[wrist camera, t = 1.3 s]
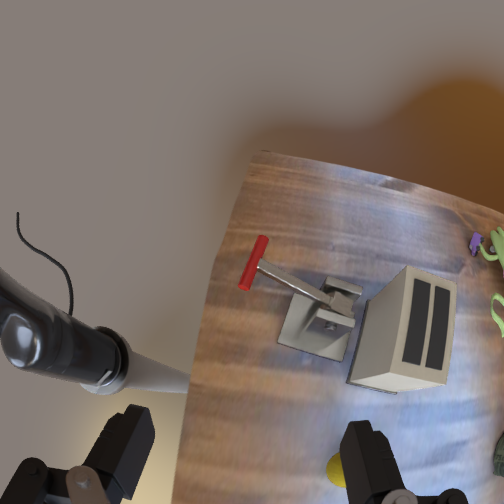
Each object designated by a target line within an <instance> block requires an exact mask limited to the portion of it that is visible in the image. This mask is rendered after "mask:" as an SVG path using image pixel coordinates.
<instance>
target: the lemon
mask: <svg viewBox="0 0 504 504" xmlns="http://www.w3.org/2000/svg"><path fill="white" fill-rule="evenodd" d="M326 473H327V476H328V478H329V480H330V481H331V482H332V483H333V484H335V485H337V486H340V487H344V488H346V484H345V479H344V474H343V469H342V464H341V459H340V452H339V453H337V454H335V455H334V456H333V457H332V458H331V459H330V460H329V462H328V464H327V467H326Z"/></svg>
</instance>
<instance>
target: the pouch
mask: <svg viewBox="0 0 504 504" xmlns="http://www.w3.org/2000/svg"><path fill="white" fill-rule="evenodd" d="M494 464H495V471H494V474H495V475H497V476H502V477H504V434H503V436H502V437H501V439H500V440H499V443H498V445H497V448H496V452H495V455H494Z"/></svg>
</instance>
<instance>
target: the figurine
mask: <svg viewBox="0 0 504 504" xmlns="http://www.w3.org/2000/svg"><path fill="white" fill-rule="evenodd" d="M497 231H498V233H499V234H498V233H497V232H496V231H493V230H492V231H491V232H490V235H491V241H492V244H493V246H491V247H490V249H489V250H490V251H491V252H492V253H493V252H496V255H489V254H487V253H486V252H485V250H484V248H483V246H482V242H484V237H483V236H481V235H480V234H478V233H476V232H474V235H473V237H472V240H471V242H470V246H469V248H470V250H471V251H472V254H471V255H472V256H474V255H475V256H476V255H477V254H478V252H477V251H479V250H480V251H481V252H482V254H483V256H484V257H485V258H486V259H487V260H489V261H494V260H497V259H499V261H500V263H501V265H502V267H503V271H504V231H503V230H502V229H501V227H499V226H498V227H497ZM503 277H504V274H503ZM494 299H497V300H498V301H500V302H501V304H502V305H503V306H504V298H503V297H502V296H501V295H500V294H498V293H494V294H493V295H492V297H491V309H490V313H491V315H492V317H493V319H494V320H495V321H496V322H497V323H498V325H499V327H500V329H501V333H502V338H503V337H504V322H503V320H502V319H501V318H500V317H499V316H498V315H497V314H496V313H495V312H494V310H493V307H492V306H493V300H494Z"/></svg>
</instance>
